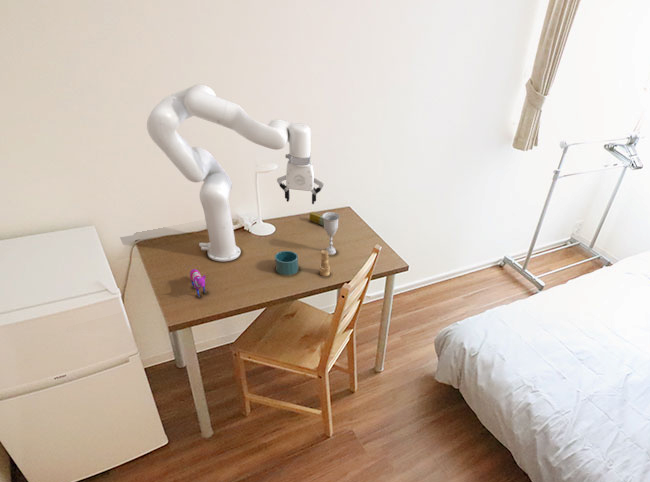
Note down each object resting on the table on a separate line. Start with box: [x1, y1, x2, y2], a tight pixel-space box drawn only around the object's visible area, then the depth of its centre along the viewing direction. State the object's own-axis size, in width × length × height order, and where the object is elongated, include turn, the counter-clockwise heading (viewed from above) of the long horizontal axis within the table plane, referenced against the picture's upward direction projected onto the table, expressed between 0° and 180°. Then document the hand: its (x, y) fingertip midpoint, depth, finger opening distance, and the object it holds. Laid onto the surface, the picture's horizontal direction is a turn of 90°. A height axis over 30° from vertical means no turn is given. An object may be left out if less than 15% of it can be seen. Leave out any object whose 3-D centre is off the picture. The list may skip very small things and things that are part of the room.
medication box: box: [309, 211, 324, 227], centre depth 220 cm, size 12×3×4 cm, turn 67°
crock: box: [274, 250, 299, 276], centre depth 186 cm, size 9×9×6 cm
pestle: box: [319, 249, 331, 277], centre depth 186 cm, size 4×4×11 cm
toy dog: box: [189, 268, 207, 299], centre depth 167 cm, size 4×18×10 cm, turn 37°
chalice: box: [322, 211, 340, 255], centre depth 197 cm, size 7×7×18 cm
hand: (300, 201), depth 181 cm, fingers open, 9 cm apart
